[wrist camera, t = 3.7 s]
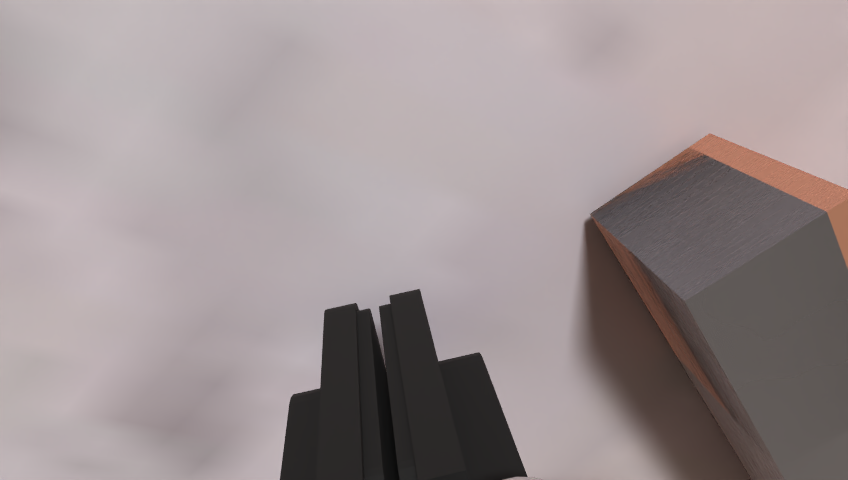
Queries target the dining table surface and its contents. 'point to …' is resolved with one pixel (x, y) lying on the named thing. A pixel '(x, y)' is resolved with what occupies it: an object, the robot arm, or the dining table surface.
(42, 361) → the dining table surface
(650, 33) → the dining table surface
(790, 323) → the tongs free arm
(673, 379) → the dining table surface
